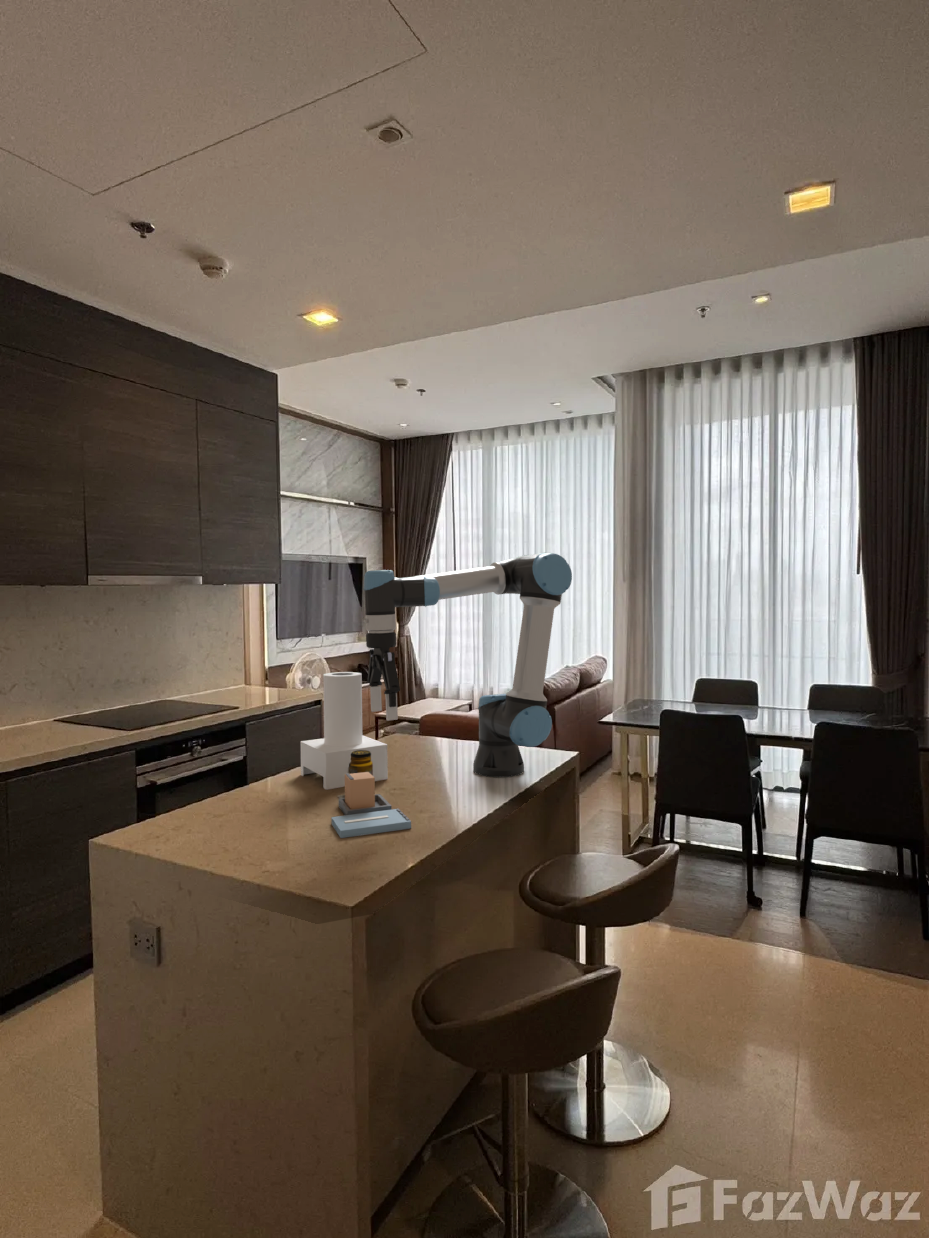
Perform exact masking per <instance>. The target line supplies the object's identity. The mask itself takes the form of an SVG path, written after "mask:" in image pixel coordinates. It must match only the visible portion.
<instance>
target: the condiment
mask: <svg viewBox="0 0 929 1238" xmlns="http://www.w3.org/2000/svg"><path fill="white" fill-rule="evenodd" d="M362 772H369V773H370V774H371V775H372V776H373V763H372V761H371V752H370V751H367V750H357V751H353V752H352V753H351V762H350V764H349V767H348V774H353V773H362ZM337 797H338V799H341V798H345V794H343V795H342V794H340V795H337Z"/></svg>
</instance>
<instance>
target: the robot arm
mask: <svg viewBox="0 0 929 1238" xmlns="http://www.w3.org/2000/svg"><path fill="white" fill-rule="evenodd" d="M572 574H573V573H572V569H571V566H570V564H569V563H568V561H567V560H566V559H565V557H563V556H561V555H560V554H558V553H553V552H552V553H551V552H541V553H535V554H525V555H524V554H523V555H521V556H517V557H512V558H510V559H505V560H502V561H495V562H492V563H491V564H490V566H483V567H475V568H474V567H473V568H468V569H460V570H452V571H445V572H437V573H428V574H421V575H413V576H406V577H395V573H394V571H393V570H392V569H390V570H389V569H387V570H386V569H382V570H381V569H377V570H375V569H374V570H373V569H372V570H367V571H366V572H365V573H364V577H363V593H364V594H363V595H364V609H365V611H364V612H365V614H364V615H365V619H363V623H364V624H365V630H366V631H367V633H366V634H365V645H366V646H365V647H366V648H368V649H369V661H368V662H369V663H368V672H367V679H366V680H367V681H366V682H367V683H368V685H369V688H370V689H369V692H370V693H369V694H370V711H371V713H374V712H382V711H383V705H382V686H383V684H384V687H385V690H384V691H383V694H384V695H385V718H386V719H385V720H386V721H394V720H395V721H396V720H398V719H399V717H398V712H399V711H398V692H400V691H401V688H400V687H401V686H400V683H399V682H400V680H399V676H398V671H397V670H398V669H397V665H396V656H395V652H393V651H391V652H390V648H395V647H396V646H397V633H396V632H395V631H394V630H396V629H397V622H396V621H397V619H396V616H397V615H396V608H406V607H407V608H408V607H409V608H410V607H411V608H412V607H415V608H416V607H425V608H426V607H431V606H435V605H437V604H438V602H439V601H440V600H447V599H454V598H461V597H468V596H474V595H482V594H488V593H494V594H495V595H506V594H509V595H510V594H511V595H512V594H515V595H519V600H520V601H521V602H522V603H523V608H522V609H523V611H522V617H521V625H520V632H519V639H518V646H517V652H516V660H515V668H514V674H513V683H512V688H511V689H510V690H509V691H508V692H507V693H496V694H495V693H494V694H485V695H481V696H480V697H479V700H478V706H477V709H478V748H477V751H476V754H475V757H474V760H473V764H472V766H473V770H472V771H473V773H474V774H477V775H479V776H485V777H490V778H491V777H493V778H507V777H509V778H510V777H515V775H516V776H519V775H521V774H520V773H522V772H523V773H524V772H525V763H524V760H523V756H522V753H521V749H520V747H526V748H534V747H537V746H539V745H541V744H543V742H544V741H546V739H547V738H548V737H549V735H550V733H551V730H552V727H553V726H552V725H553V720H552V716H551V715H550V713H549V711H548V710H547V704H548V699H547V698H546V696H545V695H544V687H545V678H546V673H547V666H548V665H547V663H548V657H549V651H550V650H549V649H550V643H551V637H552V636H551V635H552V627H553V621H554V620H553V619H554V615H555V614H554V613H555V609H556V608H557V607H558V606H559V605H561V602H562V596H563V594H564V593H566V592H567V590H569V589H570V586H571V584H572V580H573V575H572ZM381 680H383V682H384V683H383V682H382V681H381ZM523 773H522V774H523ZM518 774H519V775H518Z"/></svg>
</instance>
